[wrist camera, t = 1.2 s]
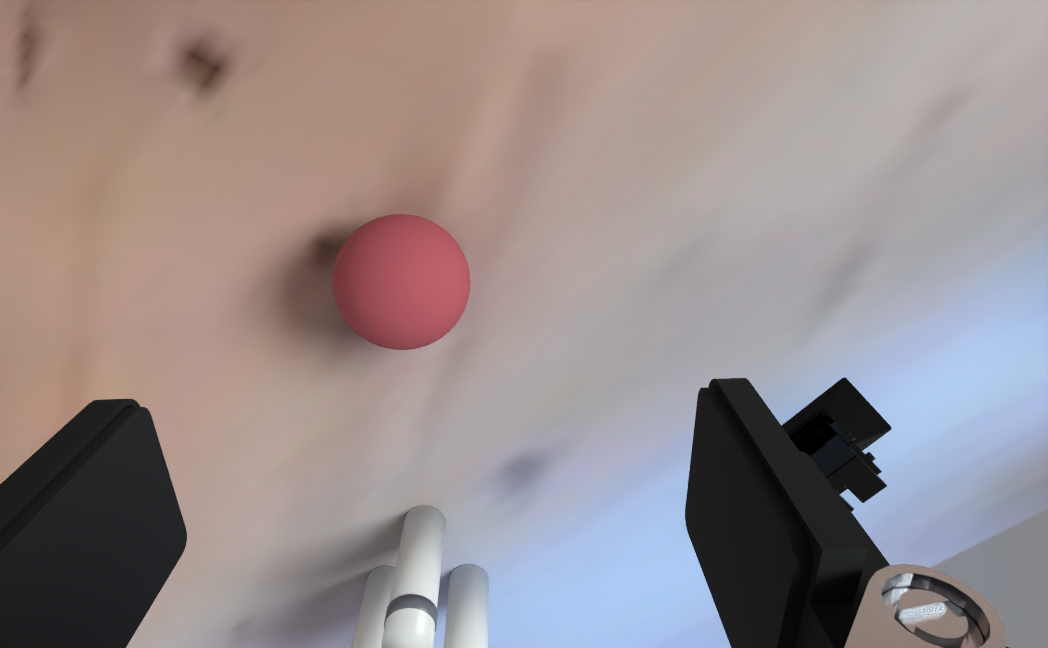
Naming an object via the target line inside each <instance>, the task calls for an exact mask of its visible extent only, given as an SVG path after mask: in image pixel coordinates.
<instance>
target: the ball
mask: <svg viewBox="0 0 1048 648" xmlns="http://www.w3.org/2000/svg"><path fill="white" fill-rule="evenodd" d="M333 292H334V297H335V300H336V303H337V306H338V309H339V311H340V313H341V315H342V316H343V318H344V320H345V321H346V322H347V324H348V325H349V326H350V327H351V328H352V329H353V330H354V331H355V332H356V333H357V334H359V335H360V336H361V337H363V338H364V339H366V340H367V341H369V342H371V343H373V344H376V345H378V346H381V347H384V348H389V349H397V350H408V349H416V348H420V347H423V346H427V345H429V344H431V343H433V342H435V341H437V340H438V339H440V338H442V337H443V336H444V335H446V334H447V333H448V332H449V331H450V330H451V329H452V328H453V327H454V326H455V324H456V323H457V322H458V320H459V319H460V317H461V316H462V314H463V312H464V310H465V307H466V304H467V301H468V298H469V292H470V274H469V268H468V264H467V261H466V258H465V256H464V254H463V252H462V250H461V248H460V247H459V245H458V244H457V242H456V241H455V240H454V239H453V238H452V236H451V235H450V234H449V233H448V232H446V231H445V230H444V229H443V228H441V227H440V226H438V225H437V224H435V223H433V222H431V221H429V220H427V219H424V218H421V217H418V216H413V215H404V214H398V215H389V216H384V217H380V218H377V219H374V220H372V221H370V222H368V223H366V224H365V225H363V226H362V227H360V228H359V229H358V230H356V231H355V232H354V233H353V234H352V235H351V236H350V237H349V238H348V239H347V241H346V242H345V243H344V245H343V247H342V248H341V250H340V252H339V254H338V257H337V259H336V262H335V266H334V271H333Z"/></svg>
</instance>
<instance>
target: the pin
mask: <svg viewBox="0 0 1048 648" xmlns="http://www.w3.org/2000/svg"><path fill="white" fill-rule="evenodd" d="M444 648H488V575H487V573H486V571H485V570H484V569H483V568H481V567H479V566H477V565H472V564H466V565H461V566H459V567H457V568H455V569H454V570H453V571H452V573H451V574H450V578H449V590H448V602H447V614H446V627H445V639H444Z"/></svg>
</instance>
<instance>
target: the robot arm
mask: <svg viewBox="0 0 1048 648" xmlns="http://www.w3.org/2000/svg"><path fill="white" fill-rule="evenodd" d="M685 520H686V526H687V531H688V534H689V537H690V539H691V542H692V545H693V547H694V550H695V552H696V555H697V558H698V560H699V563H700V566H701V568H702V571H703V574H704V576H705V579H706V582H707V584H708V587H709V590H710V592H711V595H712V597H713V600H714V603H715V605H716V608H717V611H718V613H719V616H720V619H721V621H722V624H723V627H724V629H725V632H726V634H727V637H728V640H729V642H730V645H731V648H1008V647H1006V643H1007V639H1006V632H1005V626H1004V624H1003V622H1002V620H1001V619H1000V617H999V615H998V613H997V612H996V610H995V609H994V608H993V607H992V606H991V605H990V604H989V603H988V602H987V601H986V600H985V599H984V598H983V597H982V596H981V595H980V594H979V593H977V592H976V591H974V590H973V589H972V588H970V587H969V586H967V585H966V584H965V583H963V582H961V581H959V580H957V579H955V578H953V577H951V576H949V575H947V574H945V573H943V572H940V571H936V570H933V569H930V568H927V567H924V566H917V565H908V564H900V565H891V566H890V565H889V563H888V562H887V560H886V559H885V558H884V556H883V555H882V554H881V552H880V551H879V550H878V548H877V547H876V545H875V544H874V543H873V541H872V540H871V539H870V537H869V536H868V535H867V533H866V532H865V530H864V529H863V528H862V526H861V525H860V524H859V522H858V521H857V520H856V518H855V517H854V515H853V514H852V513H851V511H850V510H849V509H848V507H847V506H846V505H845V503H844V502H843V500H842V499H841V498H840V496H839V495H838V494H837V492H836V491H835V490H834V488H833V487H832V485H831V484H830V483H829V481H828V480H827V479H826V477H825V476H824V475H823V473H822V472H821V470H820V469H819V468H818V466H817V465H816V464H815V462H814V461H813V460H812V458H811V457H810V456H809V455H808V454H807V453H804V452H800V451H799V450H798V449H797V447H796V446H795V444H794V443H793V442H792V440H791V439H790V437H789V436H788V435H787V433H786V432H785V430H784V429H783V428H782V426H781V425H780V423H779V422H778V421H777V419H776V418H775V416H774V415H773V414H772V412H771V411H770V410H769V408H768V407H767V405H766V404H765V403H764V401H763V400H762V398H761V397H760V396H759V394H758V393H757V391H756V390H755V389H754V387H753V386H752V384H751V383H750V382H749V381H748V380H747V379H746V378H730V379H712V380H711V382H710V384H709V388H701V389H700V390H699V393H698V400H697V409H696V418H695V427H694V436H693V445H692V454H691V463H690V472H689V481H688V490H687V499H686V508H685ZM186 541H187V532H186V527H185V524H184V521H183V518H182V514H181V511H180V508H179V505H178V501H177V498H176V495H175V492H174V488H173V485H172V482H171V479H170V475H169V472H168V469H167V466H166V462H165V459H164V456H163V453H162V449H161V446H160V443H159V440H158V436H157V433H156V430H155V427H154V423H153V420H152V417H151V414H150V412H149V411H148V409H147V408H145V407H140V405H139V404H138V403H137V402H136V401H135V400H133V399H110V400H94V401H93V402H91V403H89V404H88V405H87V406H86V407H85V408H84V409H83V410H82V411H80V412H79V413H78V414H77V415H76V416H75V417H74V418H73V419H72V420H71V421H69V422H68V423H67V424H66V425H65V426H64V427H63V428H62V429H61V430H60V431H58V432H57V433H56V434H55V435H54V436H53V437H52V438H51V439H50V440H49V441H47V442H46V443H45V444H44V445H43V446H42V447H41V448H40V449H39V450H38V451H36V452H35V453H34V454H33V455H32V456H31V457H30V458H29V459H28V460H27V461H25V462H24V463H23V464H22V465H21V466H20V467H19V468H18V469H17V470H16V471H15V472H13V473H12V474H11V475H10V476H9V477H8V478H7V479H6V480H5V481H4V482H2V483H1V484H0V648H126V646H127V645H128V643H129V641H130V640H131V638H132V636H133V635H134V633H135V631H136V630H137V628H138V626H139V625H140V623H141V622H142V620H143V618H144V617H145V615H146V613H147V612H148V610H149V608H150V607H151V605H152V603H153V602H154V600H155V598H156V597H157V595H158V593H159V592H160V590H161V588H162V587H163V585H164V584H165V582H166V580H167V579H168V577H169V575H170V574H171V572H172V570H173V569H174V567H175V565H176V564H177V562H178V560H179V559H180V557H181V555H182V554H183V552H184V549H185V546H186Z"/></svg>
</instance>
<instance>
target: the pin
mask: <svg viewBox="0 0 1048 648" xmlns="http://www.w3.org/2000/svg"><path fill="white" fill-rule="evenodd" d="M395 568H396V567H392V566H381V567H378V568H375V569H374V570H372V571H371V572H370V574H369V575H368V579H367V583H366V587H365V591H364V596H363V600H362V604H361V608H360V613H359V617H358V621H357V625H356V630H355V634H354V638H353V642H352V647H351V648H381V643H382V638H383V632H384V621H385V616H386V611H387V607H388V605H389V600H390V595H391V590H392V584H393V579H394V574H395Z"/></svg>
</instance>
